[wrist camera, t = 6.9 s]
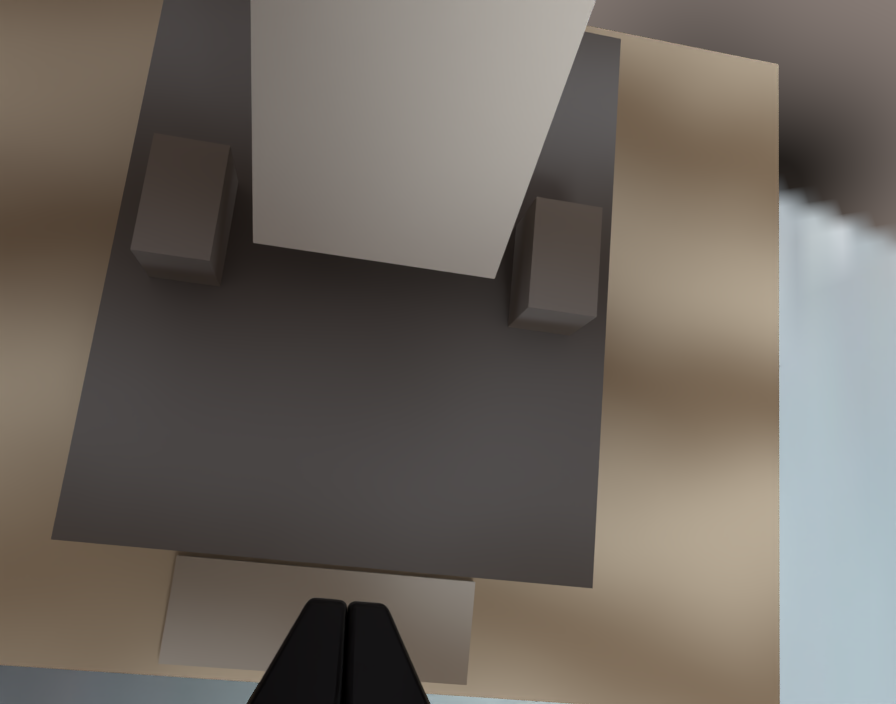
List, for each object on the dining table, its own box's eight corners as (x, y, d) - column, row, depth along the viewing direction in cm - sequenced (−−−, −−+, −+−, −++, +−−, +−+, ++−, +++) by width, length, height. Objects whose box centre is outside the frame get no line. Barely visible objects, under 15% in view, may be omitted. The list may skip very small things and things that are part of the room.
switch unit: (753, 706, 17) (941, 787, 12) (-211, 639, 14) (-506, 709, 9) (757, 85, 21) (903, -57, 16) (-15, -68, 18) (-149, -303, 13)
